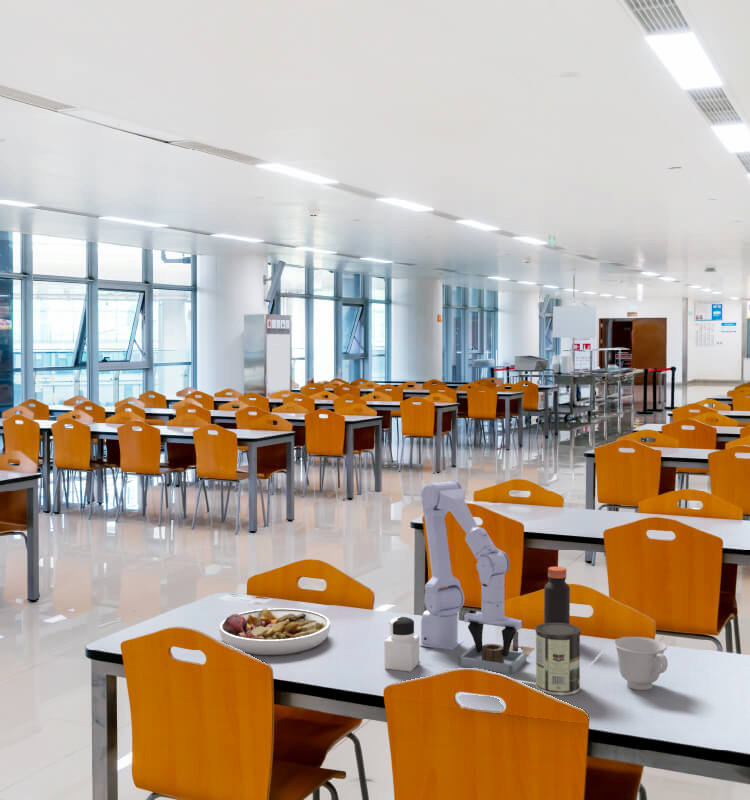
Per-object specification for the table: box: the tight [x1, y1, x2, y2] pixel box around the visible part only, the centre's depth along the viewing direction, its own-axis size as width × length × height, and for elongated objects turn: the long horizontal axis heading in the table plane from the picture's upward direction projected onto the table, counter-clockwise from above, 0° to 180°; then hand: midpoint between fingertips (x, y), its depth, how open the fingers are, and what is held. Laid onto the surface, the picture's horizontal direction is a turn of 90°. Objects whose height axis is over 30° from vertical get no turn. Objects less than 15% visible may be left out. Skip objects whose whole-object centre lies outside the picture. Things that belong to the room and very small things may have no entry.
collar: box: [482, 643, 504, 663], centre depth 230 cm, size 5×5×4 cm
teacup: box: [613, 636, 668, 691], centre depth 213 cm, size 12×15×10 cm
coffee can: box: [535, 622, 581, 696], centre depth 214 cm, size 10×10×14 cm
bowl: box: [219, 608, 331, 656], centre depth 250 cm, size 30×30×8 cm
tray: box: [458, 644, 527, 675], centre depth 230 cm, size 14×11×2 cm
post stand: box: [509, 630, 536, 657], centre depth 239 cm, size 8×8×6 cm
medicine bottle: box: [383, 616, 420, 672], centre depth 229 cm, size 7×7×12 cm
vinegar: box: [543, 566, 571, 624], centre depth 248 cm, size 7×7×20 cm
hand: (492, 653), depth 230 cm, fingers open, 6 cm apart
